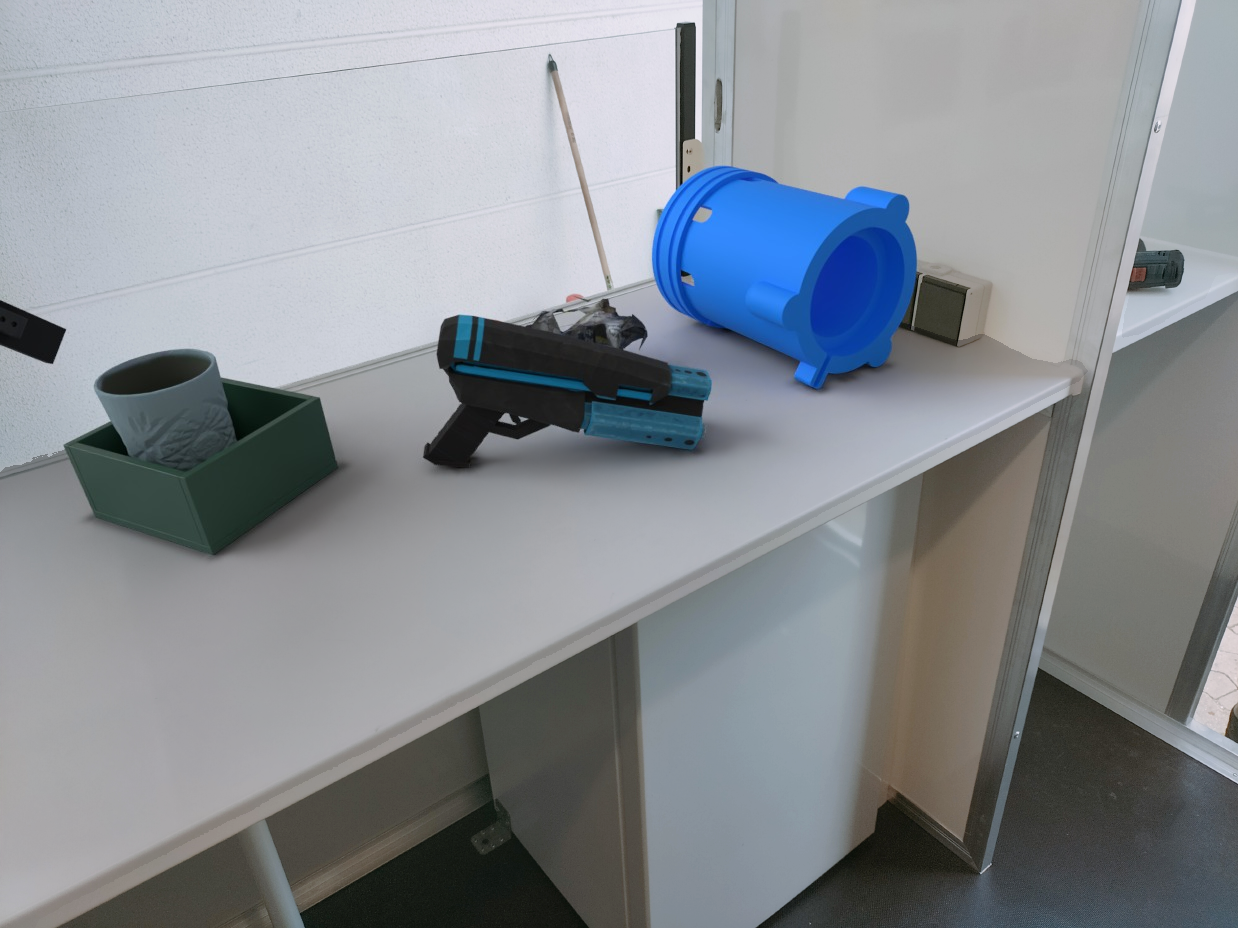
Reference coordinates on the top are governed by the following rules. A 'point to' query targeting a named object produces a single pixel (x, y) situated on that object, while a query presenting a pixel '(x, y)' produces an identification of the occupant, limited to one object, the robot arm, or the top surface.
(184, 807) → the top surface
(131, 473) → the open box
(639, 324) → the foil
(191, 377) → the grey-blue textured cup
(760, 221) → the tube
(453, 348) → the gun
